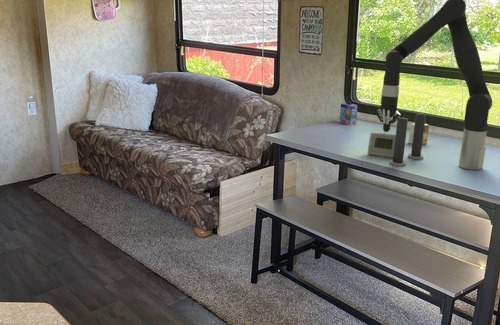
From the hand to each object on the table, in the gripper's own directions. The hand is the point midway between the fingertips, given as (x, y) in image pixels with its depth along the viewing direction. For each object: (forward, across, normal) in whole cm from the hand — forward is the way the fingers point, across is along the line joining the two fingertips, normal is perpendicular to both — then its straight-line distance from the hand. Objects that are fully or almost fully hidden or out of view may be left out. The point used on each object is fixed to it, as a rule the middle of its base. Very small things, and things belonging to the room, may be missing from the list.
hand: (386, 131), depth 233 cm
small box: (+12, +2, -38) cm, 40 cm away
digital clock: (+12, 0, -1) cm, 13 cm away
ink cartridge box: (+12, +56, -51) cm, 77 cm away
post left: (+12, -11, +6) cm, 18 cm away
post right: (+12, -11, -10) cm, 19 cm away
